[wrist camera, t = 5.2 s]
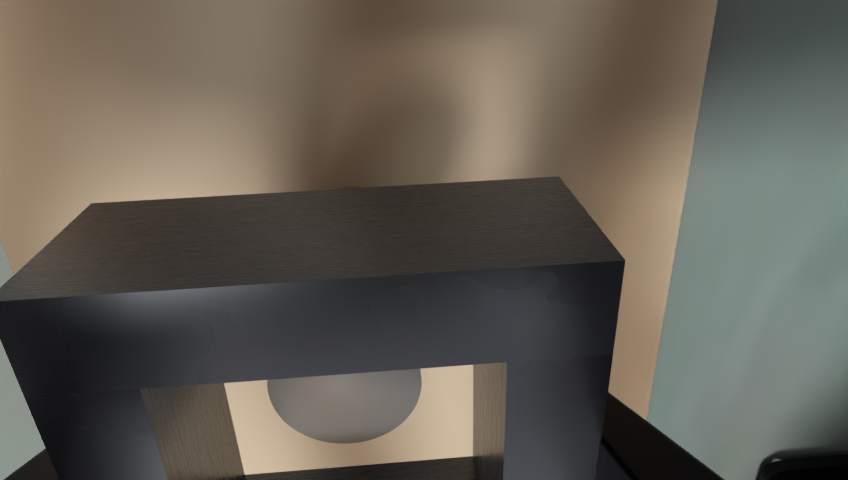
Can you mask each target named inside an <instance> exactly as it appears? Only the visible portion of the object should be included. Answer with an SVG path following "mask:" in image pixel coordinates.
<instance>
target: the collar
mask: <svg viewBox="0 0 848 480" xmlns="http://www.w3.org/2000/svg"><path fill="white" fill-rule="evenodd" d="M624 267H625V259H624V258H623V257H622V255H621V254H620V253H619V252H618V250H617V249H616V248H615V246H614V245H613V244H612V243H611V241H610V240H609V239H608V238H607V236H606V235H605V234H604V233H603V231H602V230H601V229H600V228H599V226H598V225H597V224H596V222H595V221H594V220H593V219H592V217H591V216H590V215H589V214H588V212H587V211H586V210H585V209H584V207H583V206H582V205H581V204H580V202H579V201H578V200H577V198H576V197H575V196H574V195H573V193H572V192H571V191H570V190H569V188H568V187H567V186H566V185H565V183H564V182H563V181H562V180H561V178H560V177H559V176H557V177H540V178H522V179H505V180H487V181H470V182H453V183H435V184H418V185H400V186H383V187H366V188H348V189H331V190H313V191H296V192H279V193H261V194H244V195H226V196H209V197H192V198H174V199H157V200H139V201H122V202H105V203H91V204H90V205H89V206H88V207H87V208H86V209H85V210H84V211H82V212H81V213H80V214H79V215H78V216H77V217H76V218H75V219H74V220H73V221H72V222H71V223H70V224H68V225H67V226H66V227H65V228H64V229H63V230H62V231H61V232H60V233H59V234H58V235H57V236H56V237H54V238H53V239H52V240H51V241H50V242H49V243H48V244H47V245H46V246H45V247H44V248H43V249H42V250H41V251H39V252H38V253H37V254H36V255H35V256H34V257H33V258H32V259H31V260H30V261H29V262H28V263H27V264H25V265H24V266H23V267H22V268H21V269H20V270H19V271H18V272H17V273H16V274H15V275H14V276H13V277H11V278H10V279H9V280H8V281H7V282H6V283H5V284H4V285H3V286H2V287H1V288H0V339H1V342H2V344H3V347H4V349H5V351H6V354H7V356H8V359H9V361H10V363H11V366H12V368H13V371H14V373H15V375H16V378H17V380H18V383H19V385H20V387H21V390H22V392H23V395H24V397H25V399H26V402H27V404H28V407H29V409H30V411H31V414H32V416H33V419H34V421H35V423H36V426H37V428H38V430H39V433H40V435H41V438H42V440H43V442H44V445H45V447H46V450H47V452H48V454H49V457H50V459H51V462H52V464H53V466H54V469H55V471H56V474H57V476H58V478H59V480H595V475H596V467H597V460H598V452H599V444H600V441H601V439H602V435H603V427H604V419H605V412H606V404H607V397H608V389H609V381H610V374H611V366H612V359H613V351H614V343H615V336H616V328H617V321H618V313H619V305H620V298H621V290H622V283H623V275H624ZM463 365H473V456H469V457H456V458H444V459H432V460H420V461H408V462H395V463H383V464H371V465H359V466H346V467H334V468H322V469H310V470H297V471H285V472H273V473H261V474H248V475H245V474H244V469H243V465H242V461H241V456H240V452H239V447H238V443H237V439H236V434H235V430H234V425H233V421H232V417H231V412H230V408H229V403H228V399H227V394H226V390H225V386H224V383H232V382H245V381H259V380H272V379H286V378H300V377H313V376H327V375H340V374H354V373H368V372H381V371H395V370H408V369H422V368H435V367H449V366H463Z"/></svg>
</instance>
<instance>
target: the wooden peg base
mask: <svg viewBox="0 0 848 480" xmlns="http://www.w3.org/2000/svg"><path fill="white" fill-rule="evenodd" d="M717 4H718V0H0V240H1V243H2V245H3V248H4V250H5V253H6V256H7V258H8V261H9V263H10V266H11V269H12V271H13V274H14V275H15V274H16V273H17V272H18V271H19V270H20V269H21V268H22V267H23V266H24V265H25V264H27V263H28V262H29V261H30V260H31V259H32V258H33V257H34V256H35V255H36V254H37V253H38V252H39V251H41V250H42V249H43V248H44V247H45V246H46V245H47V244H48V243H49V242H50V241H51V240H52V239H53V238H54V237H56V236H57V235H58V234H59V233H60V232H61V231H62V230H63V229H64V228H65V227H66V226H67V225H68V224H70V223H71V222H72V221H73V220H74V219H75V218H76V217H77V216H78V215H79V214H80V213H81V212H82V211H84V210H85V209H86V208H87V207H88V206H89V205H90V204H91V203H105V202H122V201H139V200H157V199H174V198H192V197H209V196H226V195H244V194H261V193H279V192H296V191H313V190H331V189H348V188H366V187H383V186H400V185H418V184H435V183H453V182H470V181H487V180H505V179H522V178H540V177H557V176H559V177H560V178H561V180H562V181H563V182H564V183H565V185H566V186H567V187H568V188H569V190H570V191H571V192H572V193H573V195H574V196H575V197H576V198H577V200H578V201H579V202H580V204H581V205H582V206H583V207H584V209H585V210H586V211H587V212H588V214H589V215H590V216H591V217H592V219H593V220H594V221H595V222H596V224H597V225H598V226H599V228H600V229H601V230H602V231H603V233H604V234H605V235H606V236H607V238H608V239H609V240H610V241H611V243H612V244H613V245H614V246H615V248H616V249H617V250H618V252H619V253H620V254H621V255H622V257H623V258H624V259H625V267H624V275H623V283H622V290H621V298H620V305H619V313H618V321H617V328H616V336H615V343H614V351H613V359H612V366H611V374H610V381H609V389H608V392H609V393H611V394H612V395H613V396H615V397H616V398H617V399H619V400H620V401H621V402H623V403H624V404H625V405H626V406H628V407H629V408H630V409H632V410H633V411H634V412H636V413H637V414H638V415H640V416H641V417H642V418H644V419H645V420H647V414H648V408H649V402H650V396H651V391H652V385H653V379H654V373H655V367H656V361H657V355H658V350H659V344H660V338H661V332H662V326H663V320H664V314H665V309H666V303H667V297H668V291H669V285H670V279H671V273H672V268H673V262H674V256H675V250H676V244H677V238H678V232H679V226H680V221H681V215H682V209H683V203H684V197H685V191H686V185H687V180H688V174H689V168H690V162H691V156H692V150H693V144H694V139H695V133H696V127H697V121H698V115H699V109H700V103H701V98H702V92H703V86H704V80H705V74H706V68H707V62H708V57H709V51H710V45H711V39H712V33H713V27H714V21H715V15H716V10H717ZM224 386H225V390H226V394H227V399H228V403H229V408H230V412H231V417H232V421H233V425H234V430H235V434H236V439H237V443H238V447H239V452H240V456H241V461H242V465H243V469H244V474H245V475H248V474H261V473H273V472H285V471H297V470H310V469H322V468H334V467H346V466H359V465H371V464H383V463H395V462H408V461H420V460H432V459H444V458H456V457H469V456H473V365H463V366H449V367H435V368H422V369H408V370H395V371H381V372H368V373H354V374H340V375H327V376H313V377H300V378H286V379H272V380H259V381H245V382H232V383H224Z"/></svg>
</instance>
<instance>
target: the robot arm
mask: <svg viewBox="0 0 848 480" xmlns="http://www.w3.org/2000/svg"><path fill="white" fill-rule="evenodd" d="M4 480H59V478H58V476H57V474H56V471H55V469H54V466H53V464H52V462H51V459H50V457H49V454H48V452H47V450H46V448H45V449H44V450H43V451H41V452H40V453H39V454H37V455H36V456H35V457H33V458H32V459H31V460H29V461H28V462H27V463H25V464H24V465H23V466H21V467H20V468H19V469H17V470H16V471H15V472H13V473H12V474H11V475H9V476H8V477H7V478H5V479H4ZM595 480H724V479H723V478H722V477H720V476H719V475H718V474H716V473H715V472H714V471H712V470H711V469H710V468H708V467H707V466H706V465H704V464H703V463H702V462H700V461H699V460H698V459H696V458H695V457H694V456H692V455H691V454H690V453H689V452H687V451H686V450H685V449H683V448H682V447H681V446H679V445H678V444H677V443H675V442H674V441H673V440H671V439H670V438H669V437H667V436H666V435H665V434H663V433H662V432H661V431H659V430H658V429H657V428H656V427H654V426H653V425H652V424H650V423H649V422H648V421H646V420H645V419H644V418H642V417H641V416H640V415H638V414H637V413H636V412H634V411H633V410H632V409H630V408H629V407H628V406H626V405H625V404H624V403H623V402H621V401H620V400H619V399H617V398H616V397H615V396H613V395H612V394H611V393H609V392H608V397H607V404H606V412H605V419H604V427H603V435H602V439H601V441H600V444H599V452H598V460H597V467H596V475H595ZM759 480H848V455H841V456H830V457H818V458H807V459H796V460H784V461H776V462H772V463H770V464H768V465H767V466H766V467H765V468H764V469H763V470H762V472H761V474H760V477H759Z"/></svg>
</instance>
